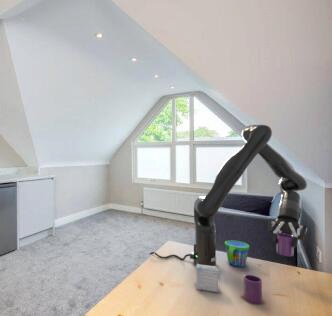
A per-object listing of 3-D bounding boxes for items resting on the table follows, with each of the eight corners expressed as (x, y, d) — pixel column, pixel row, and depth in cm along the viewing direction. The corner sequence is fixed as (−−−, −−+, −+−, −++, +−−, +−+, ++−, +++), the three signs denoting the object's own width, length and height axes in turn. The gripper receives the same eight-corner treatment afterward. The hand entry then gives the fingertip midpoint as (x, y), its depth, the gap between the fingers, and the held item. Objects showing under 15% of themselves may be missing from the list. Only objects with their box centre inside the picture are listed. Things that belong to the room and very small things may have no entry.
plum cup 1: (242, 299, 92) (242, 278, 92) (246, 293, 96) (246, 273, 96) (259, 306, 88) (259, 283, 88) (263, 299, 92) (263, 278, 92)
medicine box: (216, 287, 101) (216, 266, 101) (218, 293, 96) (218, 271, 96) (196, 284, 103) (196, 263, 103) (196, 289, 99) (196, 268, 99)
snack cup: (234, 256, 130) (234, 237, 130) (255, 263, 121) (255, 243, 121) (217, 264, 122) (217, 243, 122) (240, 272, 113) (239, 250, 113)
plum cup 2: (275, 253, 105) (275, 235, 105) (278, 250, 109) (278, 232, 109) (292, 257, 101) (292, 238, 101) (294, 253, 105) (294, 235, 105)
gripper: (268, 204, 115) (262, 236, 107) (308, 209, 105) (305, 244, 97) (270, 214, 119) (265, 245, 111) (310, 219, 109) (307, 253, 101)
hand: (284, 244), depth 104 cm, fingers closed on plum cup 2, 5 cm apart
